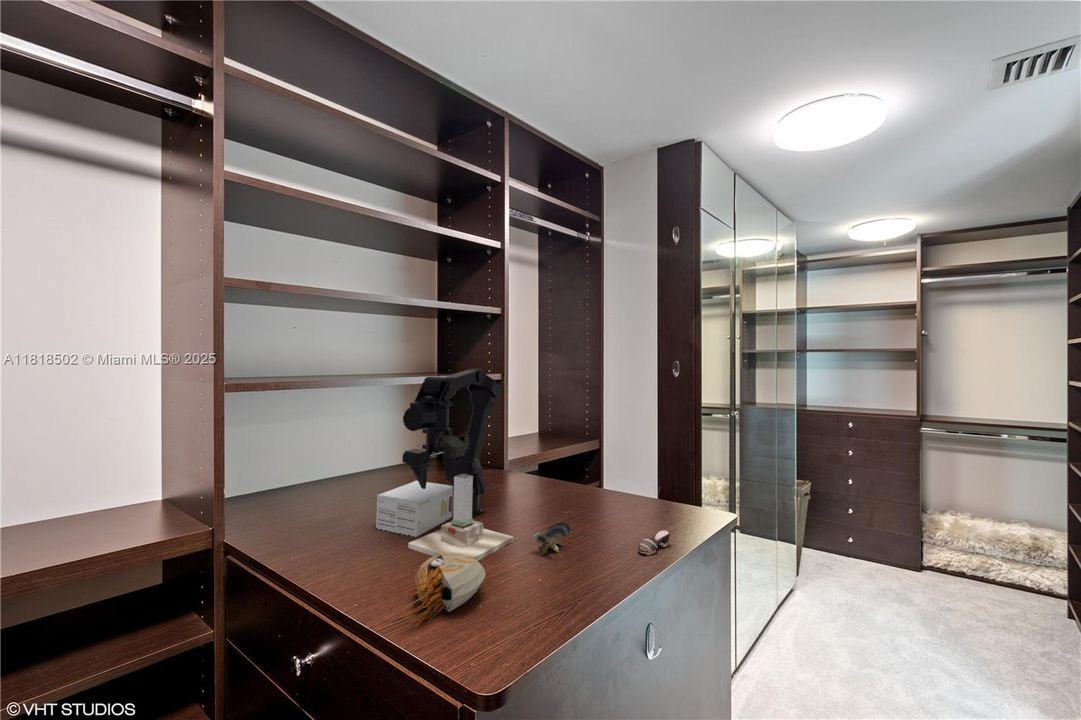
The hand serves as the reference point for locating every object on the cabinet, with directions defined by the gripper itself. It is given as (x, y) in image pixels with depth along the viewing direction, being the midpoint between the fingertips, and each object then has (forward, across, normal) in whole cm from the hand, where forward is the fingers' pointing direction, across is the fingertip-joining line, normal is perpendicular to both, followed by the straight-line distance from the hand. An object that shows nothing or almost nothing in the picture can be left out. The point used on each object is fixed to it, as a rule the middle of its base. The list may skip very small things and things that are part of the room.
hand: (436, 484), depth 128 cm
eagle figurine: (+13, +7, -31) cm, 34 cm away
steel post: (+7, -3, -11) cm, 14 cm away
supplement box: (+13, +1, +9) cm, 15 cm away
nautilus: (+12, -27, -26) cm, 39 cm away
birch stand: (+12, -3, -11) cm, 17 cm away
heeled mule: (+13, +22, -51) cm, 57 cm away
